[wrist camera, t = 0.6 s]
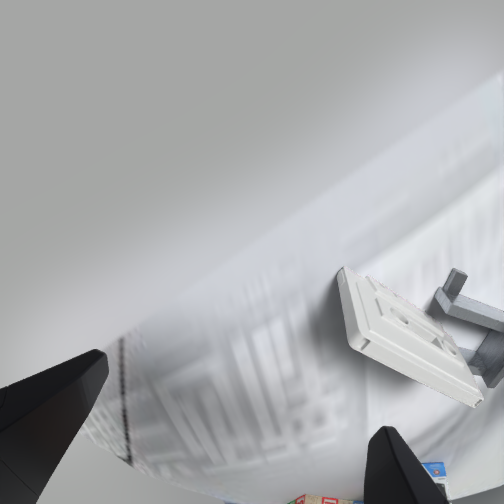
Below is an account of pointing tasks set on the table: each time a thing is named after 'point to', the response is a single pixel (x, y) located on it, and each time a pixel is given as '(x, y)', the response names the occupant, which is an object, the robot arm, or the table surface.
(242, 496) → the table surface
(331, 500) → the stack of blocks
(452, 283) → the bracket
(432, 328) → the cassette
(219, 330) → the table surface
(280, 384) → the table surface
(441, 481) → the ink box
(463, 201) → the table surface
